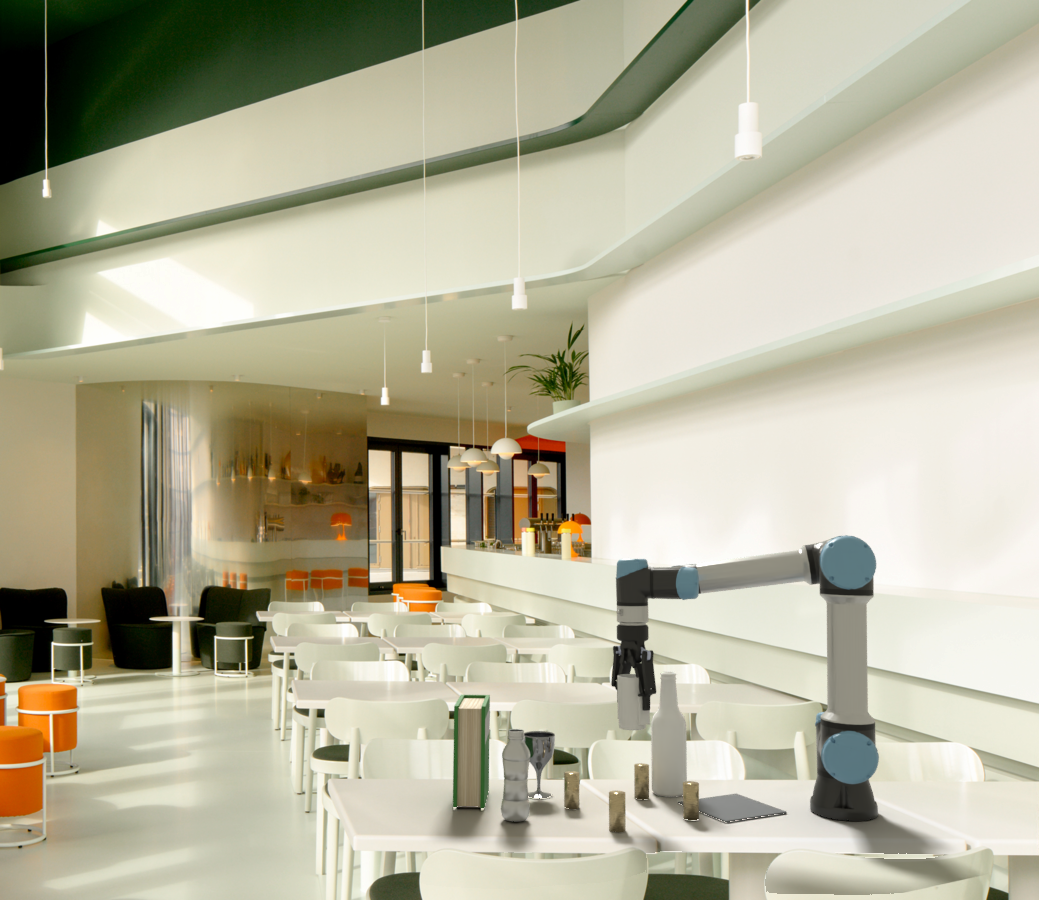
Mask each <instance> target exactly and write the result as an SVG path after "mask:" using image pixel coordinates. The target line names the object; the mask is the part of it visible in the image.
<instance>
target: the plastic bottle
mask: <svg viewBox="0 0 1039 900" xmlns="http://www.w3.org/2000/svg"><path fill="white" fill-rule="evenodd" d="M524 733H525V730H524V729H521V728H511V729H508V730H507V739H508V742H507V743H506V745H505V746H504V748H503V751H502V753H501V759H502V766H503V767H502V768H503V778H504V779H503V783H504V784H503V794H502V799H501V805H500V812H501V816H502V818H503V820H505V821H507V822H508V821H509V822H513V821H514V822H515V823H517V822H518V823H519V822H524V821H526V820H528V818H529V816H530V811H531V807H530V801H529V798H528V793H529V791H528V778H529V768H530V751H529V749H528V747H527V746H526V744H525V743H524V741H523V739H525V736H524Z"/></svg>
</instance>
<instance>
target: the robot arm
mask: <svg viewBox="0 0 1039 900" xmlns="http://www.w3.org/2000/svg"><path fill="white" fill-rule="evenodd" d="M875 555H876V554H875V553H874V551H873V550H872V548H871V546H870V545H869V544H868V543H867V542H866V541H864V540H862V539H861V538H859V537H856V536H854V535H846V534H845V535H838V536H834V537H832V538H830V539H827V540H823V541H819V542H816V543H812V544H805V545H802V547H801V548H800V549H798V550H797V549H796V550H789V551H783V552H776V553H768V554H760V555H751V556H746V557H745V556H744V557H737V558H727V559H722V560H713V561H706V562H705V561H704V562H700V563H699V562H698V563H691V564H690V563H689V564H684V565H673V566H670V567H668V566H663V567H662V566H661V567H660V566H659V567H656V566H649V564H648V559H646V558H620V559H619V560H618V561H617V562H616V571H615V572H616V574H615V575H616V577H615V589H616V592H615V593H616V622H617V623H619V624H617V626H616V639H617V641H620V645H614V646H612V653H613V659H612V670H611V671H612V673H611V680H610V681H611V683H610V685H611V687H612V688H613V687H614V689H615V691H616V701H617V704H618V685H617V676H618V675H621V674H631V670H632V669H633V670H634V674H636V678H639V691H640V694H638V725H646V726H647V725H651V713H650V712H651V697H652V696H653V695H657V686H656V676H655V675H656V674H655V665H654V651H653V650H652V649H651V650H650V649H649V650H648V649H647V648H646V644H645V642H646V641H648V640H649V638H650V637H649V635H650V634H649V626H648V624H647V623H648V622H650V621H649V599H652V600H654V599H655V600H656V599H659V600H660V599H661V600H682V601H685V600H686V601H687V600H695V599H697V598H698V597H699V595H700V594H709V593H717V592H726V591H734V590H735V591H736V590H741V589H742V590H743V589H749V588H750V589H752V588H758V587H768V586H776V585H783V584H784V585H785V584H792V583H793V584H794V583H800V582H801V583H802V582H805V583H807V584H808V585H809V586H810V585H811V586H812V585H819V596H820V597H821V598H822V599H823V600H824V601H825V602H826V655H827V656H826V662H827V663H826V669H827V670H826V671H827V672H826V673H827V674H826V677H827V680H826V681H827V686H826V688H827V689H826V690H827V694H826V695H827V696H826V697H827V698H826V701H827V709H826V710H825V711H821V712H818V713H816V716H815V721H814V722H815V723H814V726H815V736H816V737H815V740H816V744H815V745H816V780H815V784H814V785H813V787H814V788H813V792H812V796H810V799H809V807H810V809H809V810H810V811H811V812H812V813H813V812H814V813H813V814H815V815H817V814H818V815H817V816H820V815H821V816H820V817H823V818H826V817H827V818H826V819H831V818H832V820H837V819H838V820H840V821H846V820H849V822H861V821H862V822H864V820H865V821H871V820H874V819H877V818H878V816H879V807H878V803H877V801H876V799H875V796H874V791H873V790H872V786H871V782H870V778H872V777H873V775H874V774H875V773H876V771H877V770H878V765H879V762H880V761H879V760H880V756H879V752H878V750H879V749H878V748H877V746H876V745H877V744H876V742H877V741H876V720H875V718H874V717H872V715H870V713H869V703H868V701H869V700H868V699H869V697H868V696H869V694H868V693H869V691H868V689H869V688H868V621H867V620H868V614H867V612H868V610H867V605H868V603H869V602H870V601H871V600H872V599H873V598H875V596H874V595H875V594H874V583H875V582H874V581H875V580H874V576H875V573H876V570H877V559H876V556H875ZM617 719H618V720H619V718H618V717H617ZM870 819H871V820H870Z"/></svg>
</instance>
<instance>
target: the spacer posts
mask: <svg viewBox="0 0 1039 900" xmlns="http://www.w3.org/2000/svg"><path fill="white" fill-rule="evenodd" d="M633 766H634V769H633V770H634V771H633V772H634V773H633V775H634V781H633V782H634V790H633V791H634V799H635V798H637V799H642V800H641V801H645V800H644V799H648V800H649V799H650V765H649V764H648V763H642V762H641V763H634V764H633ZM563 773H564V774H563V776H564V777H563V778H564V779H563V785H564V786H563V787H564V788H563V789H564V790H563V792H564V793H563V795H564V796H563V798H564V799H563V802H564V803H563V808H564V807H566V808H569V809H576V810H578V808H579V809H580V772H579V771H575V770H573V771H571V770H570V771H569V770H568V771H565V772H563ZM637 799H636V800H637ZM699 799H700V783H699V782H697V781H693V780H691V781H690V780H687V781H685V782H683V796H682V801H683V806H682V811H683V812H682V813H683V814H682V816H683V817H682V818H684V819H688V820H697V819H699V820H700V813H699ZM569 809H568V810H569ZM684 819H683V820H684ZM626 829H627V828H626V792H625V791H623V790H609V792H608V831H609V832H611V833H615V834H617V833H618V834H621V833H625V832H626Z"/></svg>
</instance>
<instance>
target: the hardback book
mask: <svg viewBox="0 0 1039 900" xmlns="http://www.w3.org/2000/svg"><path fill="white" fill-rule="evenodd" d="M490 696H491V695H490V694H460V695H459V697H458V699H457V701H456V702H455V704H454V706H453V707H454V709H453V714H454V715H453V761H452V762H453V763H452V764H453V765H452V766H453V769H452V770H453V771H452V772H453V773H452V775H453V776H452V779H453V780H452V808H453V807H457V806H478V807H477V808H484V807H485V808H486V806H485V803H486V804H487V801H486V799H487V800H488V797H487V795H488V796H489V793H488V791H489V792H490V719H491V718H490V717H491V716H490V713H491V712H490V709H491V708H490V707H491V702H490V701H491V697H490Z"/></svg>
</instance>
